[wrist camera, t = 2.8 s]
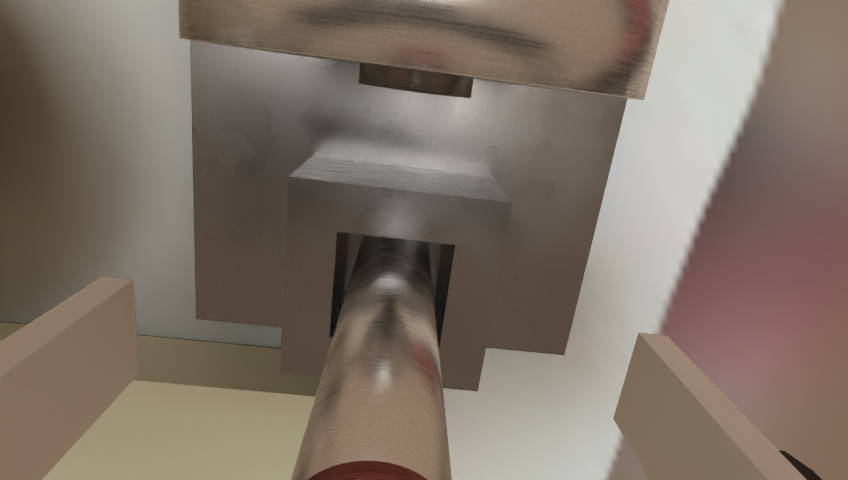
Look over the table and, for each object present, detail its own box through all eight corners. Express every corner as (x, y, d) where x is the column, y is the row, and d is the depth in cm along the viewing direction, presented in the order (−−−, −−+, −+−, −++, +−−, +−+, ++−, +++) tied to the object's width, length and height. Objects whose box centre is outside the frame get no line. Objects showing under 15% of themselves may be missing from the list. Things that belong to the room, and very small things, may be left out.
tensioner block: (210, 303, 22) (-83, 638, 9) (205, -44, 18) (-371, -373, 5) (554, 338, 23) (742, 684, 10) (630, 17, 19) (1138, -112, 6)
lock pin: (357, 278, 21) (242, 719, 7) (362, 214, 20) (244, 564, 6) (424, 286, 21) (451, 729, 7) (432, 222, 20) (485, 580, 6)
